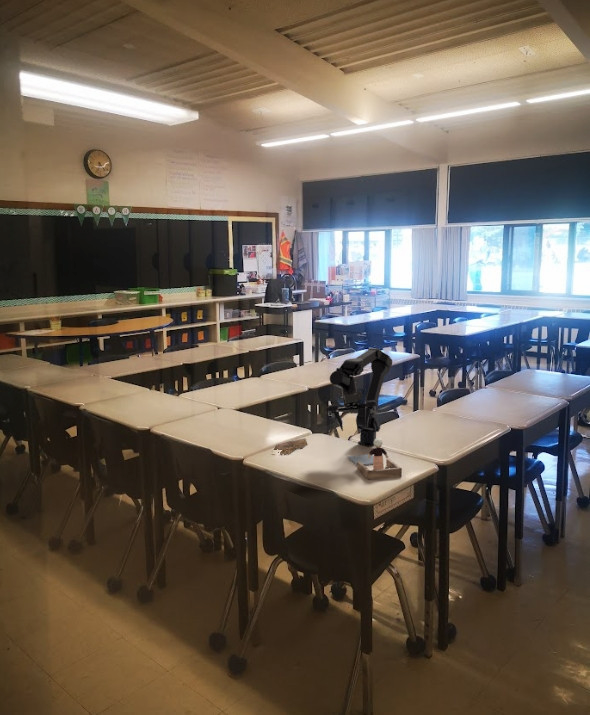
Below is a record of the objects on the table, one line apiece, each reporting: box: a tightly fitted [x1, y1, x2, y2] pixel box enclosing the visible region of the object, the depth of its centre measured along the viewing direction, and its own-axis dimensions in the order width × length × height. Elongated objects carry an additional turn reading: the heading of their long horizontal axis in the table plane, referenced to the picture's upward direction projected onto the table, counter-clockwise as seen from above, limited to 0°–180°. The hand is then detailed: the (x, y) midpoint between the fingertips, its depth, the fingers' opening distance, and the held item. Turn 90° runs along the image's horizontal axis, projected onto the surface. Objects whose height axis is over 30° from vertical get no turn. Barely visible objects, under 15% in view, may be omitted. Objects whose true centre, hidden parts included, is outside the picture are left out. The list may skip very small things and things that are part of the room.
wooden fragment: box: [273, 438, 309, 456], centre depth 251 cm, size 26×11×1 cm, turn 145°
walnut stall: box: [356, 458, 403, 481], centre depth 221 cm, size 11×13×3 cm
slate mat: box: [347, 453, 374, 467], centre depth 234 cm, size 10×10×1 cm
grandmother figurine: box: [367, 437, 389, 470], centre depth 221 cm, size 8×4×13 cm, turn 109°
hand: (354, 429), depth 229 cm, fingers open, 9 cm apart
